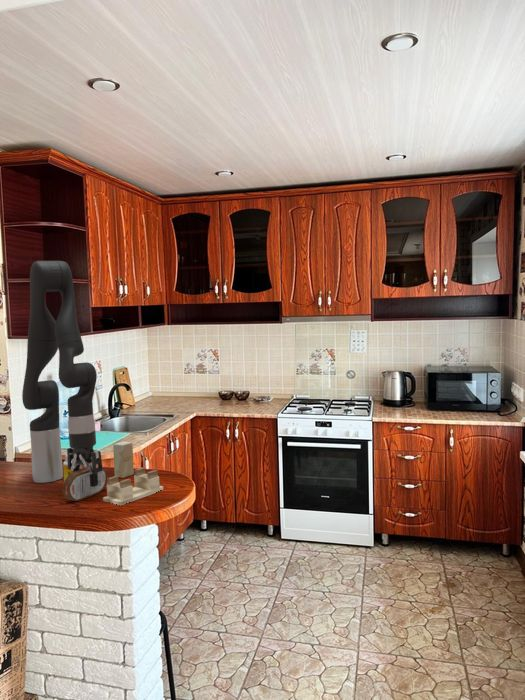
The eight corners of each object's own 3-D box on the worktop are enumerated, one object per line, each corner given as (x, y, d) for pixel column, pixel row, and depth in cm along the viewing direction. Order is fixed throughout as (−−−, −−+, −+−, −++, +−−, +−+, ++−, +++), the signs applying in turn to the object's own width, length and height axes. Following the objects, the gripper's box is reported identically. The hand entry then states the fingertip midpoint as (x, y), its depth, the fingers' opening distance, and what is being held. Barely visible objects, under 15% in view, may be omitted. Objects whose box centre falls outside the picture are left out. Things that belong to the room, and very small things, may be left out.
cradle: (103, 500, 154) (101, 479, 153) (146, 485, 166) (145, 466, 166) (120, 505, 149) (119, 483, 148) (163, 489, 161) (162, 469, 161)
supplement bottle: (67, 490, 166) (64, 457, 165) (62, 485, 170) (60, 454, 170) (85, 486, 169) (83, 454, 168) (80, 482, 173) (78, 451, 173)
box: (123, 478, 176) (121, 445, 175) (114, 476, 178) (112, 444, 177) (134, 473, 180) (132, 441, 180) (125, 472, 182) (123, 440, 182)
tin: (102, 488, 166) (100, 462, 165) (109, 489, 164) (107, 463, 164) (62, 504, 153) (60, 475, 152) (70, 505, 151) (68, 476, 151)
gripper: (57, 430, 159) (61, 484, 159) (84, 434, 150) (88, 491, 150) (79, 426, 164) (83, 477, 165) (107, 429, 156) (111, 484, 156)
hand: (85, 484), depth 158 cm, fingers open, 8 cm apart
